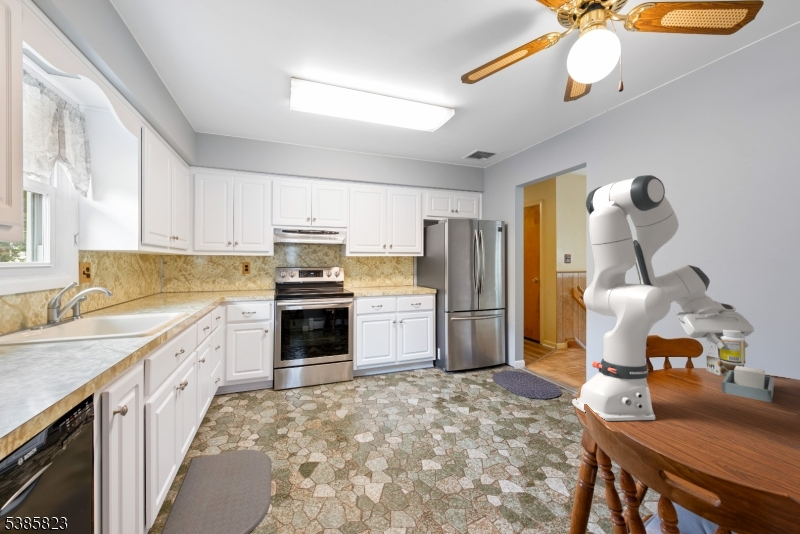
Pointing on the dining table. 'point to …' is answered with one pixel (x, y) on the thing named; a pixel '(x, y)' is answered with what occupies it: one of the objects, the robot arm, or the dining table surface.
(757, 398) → the tray
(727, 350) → the supplement bottle
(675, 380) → the dining table surface
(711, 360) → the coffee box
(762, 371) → the off-white plain cube block
